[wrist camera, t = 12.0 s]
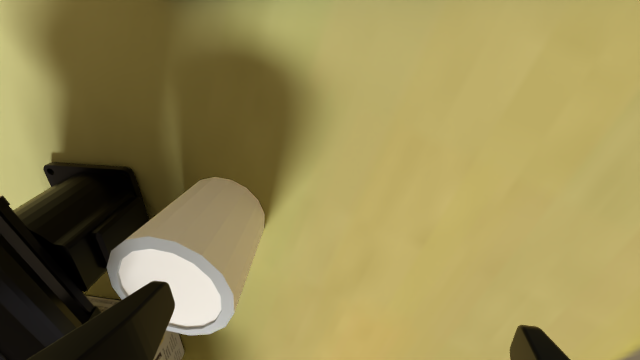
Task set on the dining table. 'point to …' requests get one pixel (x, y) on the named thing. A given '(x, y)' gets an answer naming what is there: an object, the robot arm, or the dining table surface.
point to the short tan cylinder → (194, 253)
